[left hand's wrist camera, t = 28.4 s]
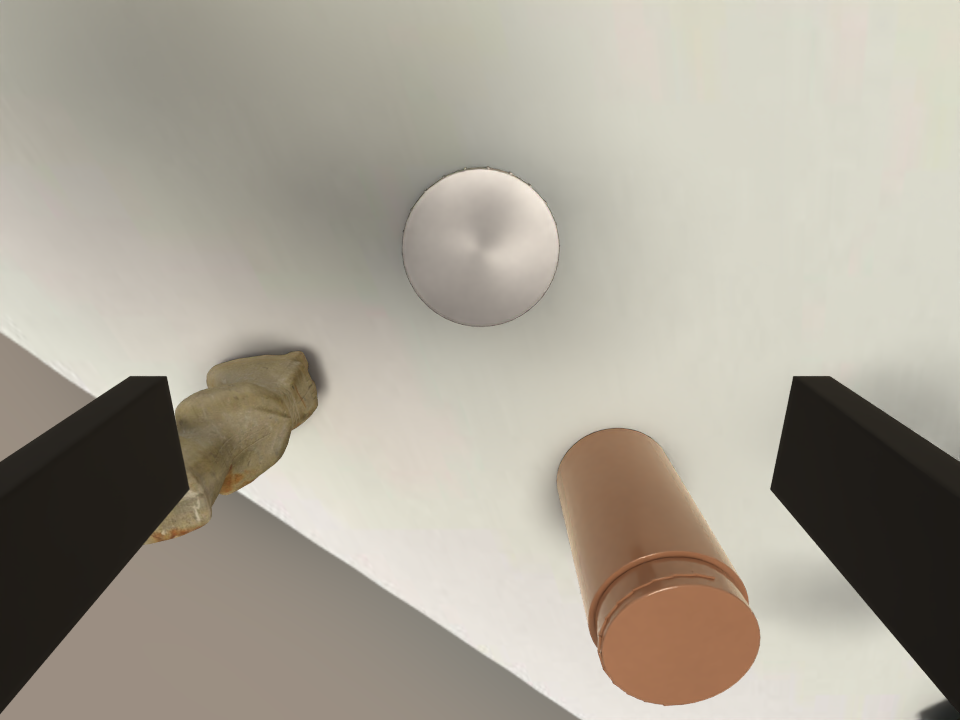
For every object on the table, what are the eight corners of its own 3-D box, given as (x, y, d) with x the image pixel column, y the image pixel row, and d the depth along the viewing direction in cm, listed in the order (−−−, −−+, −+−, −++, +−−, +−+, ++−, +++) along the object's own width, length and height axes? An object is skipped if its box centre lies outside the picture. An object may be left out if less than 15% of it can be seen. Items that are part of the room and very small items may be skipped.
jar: (556, 430, 41) (598, 582, 27) (674, 425, 41) (778, 576, 27) (556, 527, 44) (593, 712, 30) (665, 524, 44) (756, 707, 30)
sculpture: (209, 347, 39) (55, 463, 25) (313, 331, 38) (217, 438, 24) (236, 424, 41) (108, 571, 27) (335, 409, 40) (258, 550, 26)
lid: (533, 331, 39) (536, 342, 36) (392, 298, 38) (387, 308, 36) (574, 188, 35) (580, 190, 33) (421, 149, 35) (417, 149, 32)
